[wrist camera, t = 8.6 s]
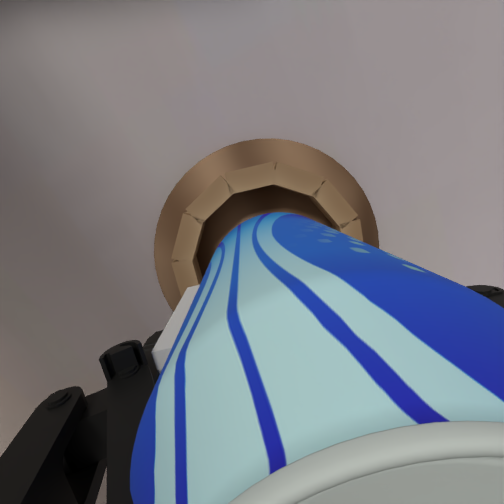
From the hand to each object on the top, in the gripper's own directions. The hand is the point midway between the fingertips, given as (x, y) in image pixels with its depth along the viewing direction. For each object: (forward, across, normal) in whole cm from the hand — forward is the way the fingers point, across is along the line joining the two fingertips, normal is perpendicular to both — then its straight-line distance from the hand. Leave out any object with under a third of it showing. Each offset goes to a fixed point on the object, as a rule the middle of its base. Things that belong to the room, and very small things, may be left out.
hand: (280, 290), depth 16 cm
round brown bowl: (+9, 0, 0) cm, 9 cm away
